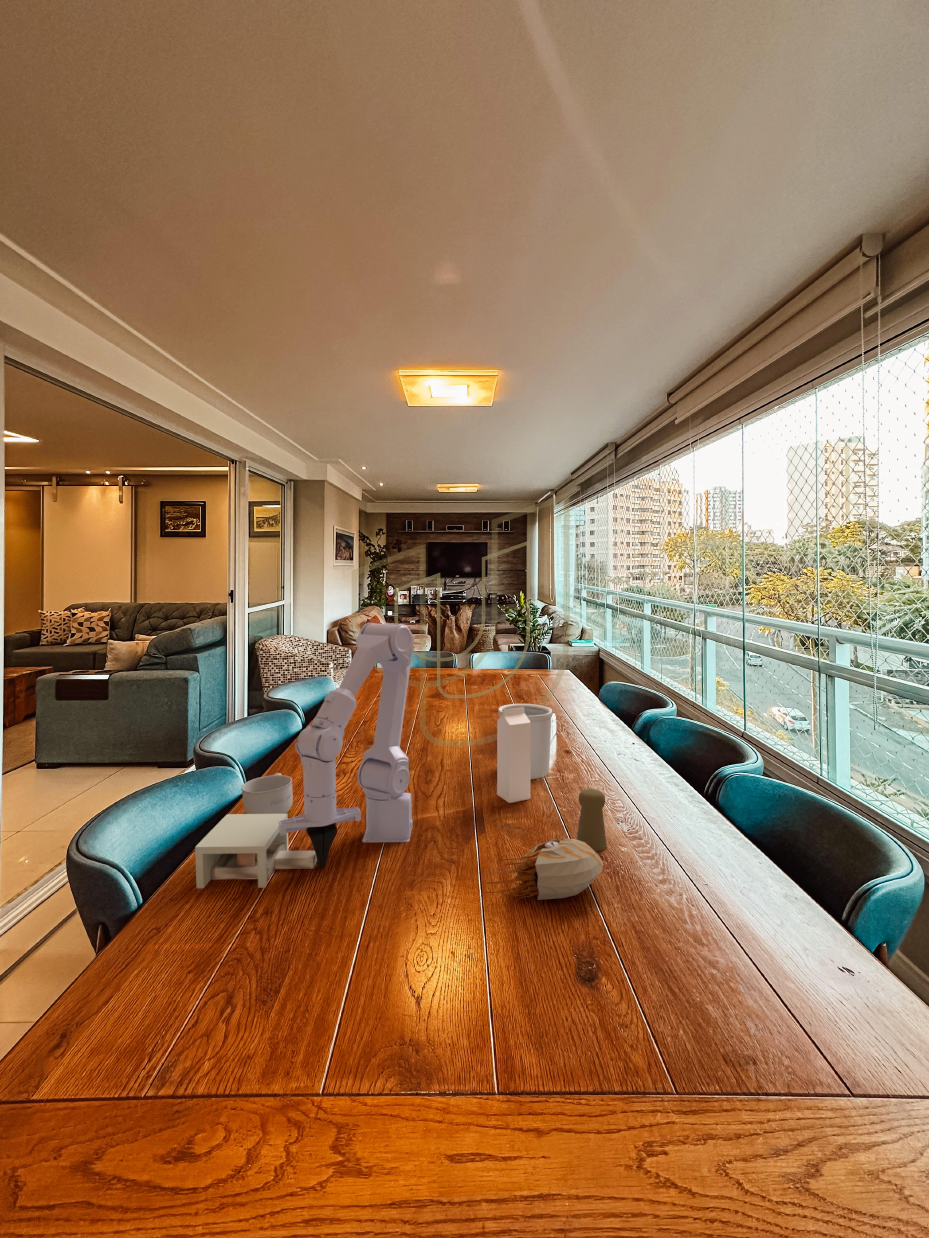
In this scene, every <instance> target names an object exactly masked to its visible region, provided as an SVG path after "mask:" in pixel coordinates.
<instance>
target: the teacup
mask: <svg viewBox="0 0 929 1238" xmlns="http://www.w3.org/2000/svg"><path fill="white" fill-rule="evenodd" d="M240 790H241V791H242V802H243V808H244V812H245V814H287V813H288V812H289V810H290V809H291V808H292V807H293V802H294V801H293V800H294V797H293V796H294V795H293V778H292V777H291V776H288V775H284V774H283V775H282V773H280V772H276V773H274V774H273V775H265V776H261V777H256V778H253V779H251V780H248V781H246V782H245V783H244V784H243V783H242V785H241V788H240Z"/></svg>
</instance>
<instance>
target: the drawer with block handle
mask: <svg viewBox="0 0 929 1238" xmlns="http://www.w3.org/2000/svg"><path fill="white" fill-rule="evenodd" d="M266 859H267V880H268V879H270V877H271V876H272V874H273V872H275V870H291V869H292V870H294V869H298V870H299V869H305V870H306V869H307V870H309V869H312V870H313V869H315V866H316V864H317V857H316V853H315V850H288V851H285V843H271V844H270V846H269V847H268V849H267V850H266ZM211 870H212V879H211V880H258V861H256V862H255V866H254V867H237V853H229V854H223V856H222V857H221V858H220V859H219V860H218V861H217V863H216V864H215V865H214V866H213V867H212V869H211Z"/></svg>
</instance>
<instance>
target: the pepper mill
mask: <svg viewBox="0 0 929 1238" xmlns="http://www.w3.org/2000/svg"><path fill="white" fill-rule="evenodd" d="M578 803H579V805H580V807H581V808H580V815H579V821H578V827H577V828H578V829H577V835H576V839H577V840H579V841H582V842H585V843H586V844H588V845H589V846H590V847H591V848H592V849H593V850H594V851H595V852H602V851H604V850H606V849H607V847H608V845H607V844H608V843H607V836H606V828H605V819H604V812H603V808H604V807H605V804H606V797H605V794H604V792H603V791H601V790H599V789H595V788H585V789H583V790H581V791H580V792H579V795H578Z"/></svg>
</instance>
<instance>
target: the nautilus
mask: <svg viewBox="0 0 929 1238" xmlns="http://www.w3.org/2000/svg"><path fill="white" fill-rule="evenodd" d="M517 860H518V861H519V860H520V861H519V862H506V863H504V864H503V863H502V864H497V866H498V867H503V866H511V865H512V866H513V865H514V866H515V865H517V866H516V868H513V869H511V870H505V871H504V870H503V871H495V872H491V873H490V872H489V873H485V875H494V874H504V873H508V874H509V873H511V874H512V875H513V874H515V873H516V874H517V875H516V876H515V877H514V878H512V879H505V880H497V881H485V882H484V883H486V884H488V885H489V884H490V885H497V884H498V885H499V884H507V883H509V884H510V883H511V884H515V885H517V886H516V887H512V888H509V889H502V890H501V889H499V888H498V890H497V891H484V893H485V894H495V893H496V894H498V893H501V894H503V895H502V896H500V897H498V898H497V899H502V898H504V897H506V896H511V897H512V896H515V897H518V898H517V899H515V900H514V901H513V902H514V903H515V902H516V901H518V900H520V899H523V898H525V897H526V898H530V897H532V896H537V900H538V901H539V900H540V901H541V900H552V899H565V898H569V897H572V896H573V897H574V896H577V895H578V894H580V893H581V892H583V891H584V890H586V889H587V888H588V887H589V885H591V884H593V882H594V881H596V880H597V878H598V877H599V875H600V874H601V873H602V871H603V868H604V861H603V860H602V858H601V857H600V855H599V853H597V851H594V850H593V849H592V848H591V847H590V846H589V845H588V844H586V843H585V842H582V841H579V840H577V838H560V839H559V838H555V839H551V840H549V841H546V842H542V843H539V844H538V843H537V844H536V845H535V846H533V847H532V848H530V849H529V850H528V851H527V852H526V853H525V854H524V855H523V856H521V857H516V858H515V857H514V858H504V859H498V860H496V862H503V861H517ZM516 882H521V883H516ZM526 888H527V889H526ZM523 889H526V890H523ZM509 891H513V892H511V893H508V892H509ZM517 893H521V894H517ZM522 893H523V894H522Z"/></svg>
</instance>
